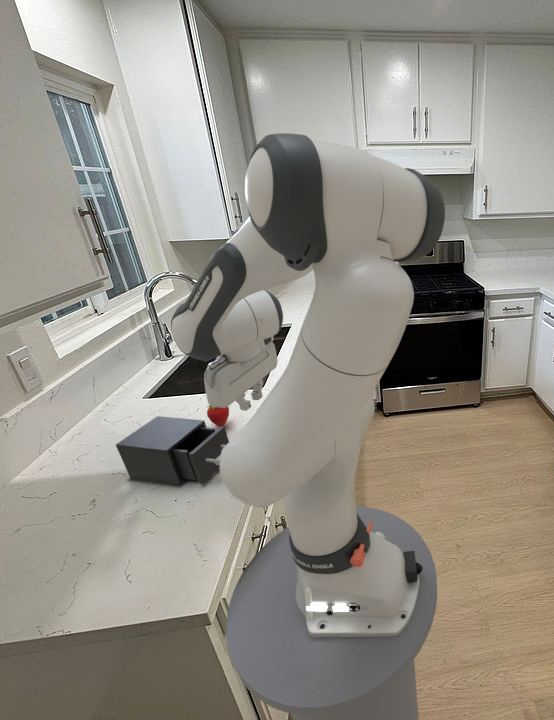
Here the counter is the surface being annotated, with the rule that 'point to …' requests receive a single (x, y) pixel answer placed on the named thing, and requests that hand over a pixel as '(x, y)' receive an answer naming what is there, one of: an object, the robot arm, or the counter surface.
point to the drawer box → (156, 449)
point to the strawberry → (218, 415)
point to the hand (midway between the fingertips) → (252, 403)
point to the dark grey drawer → (200, 453)
